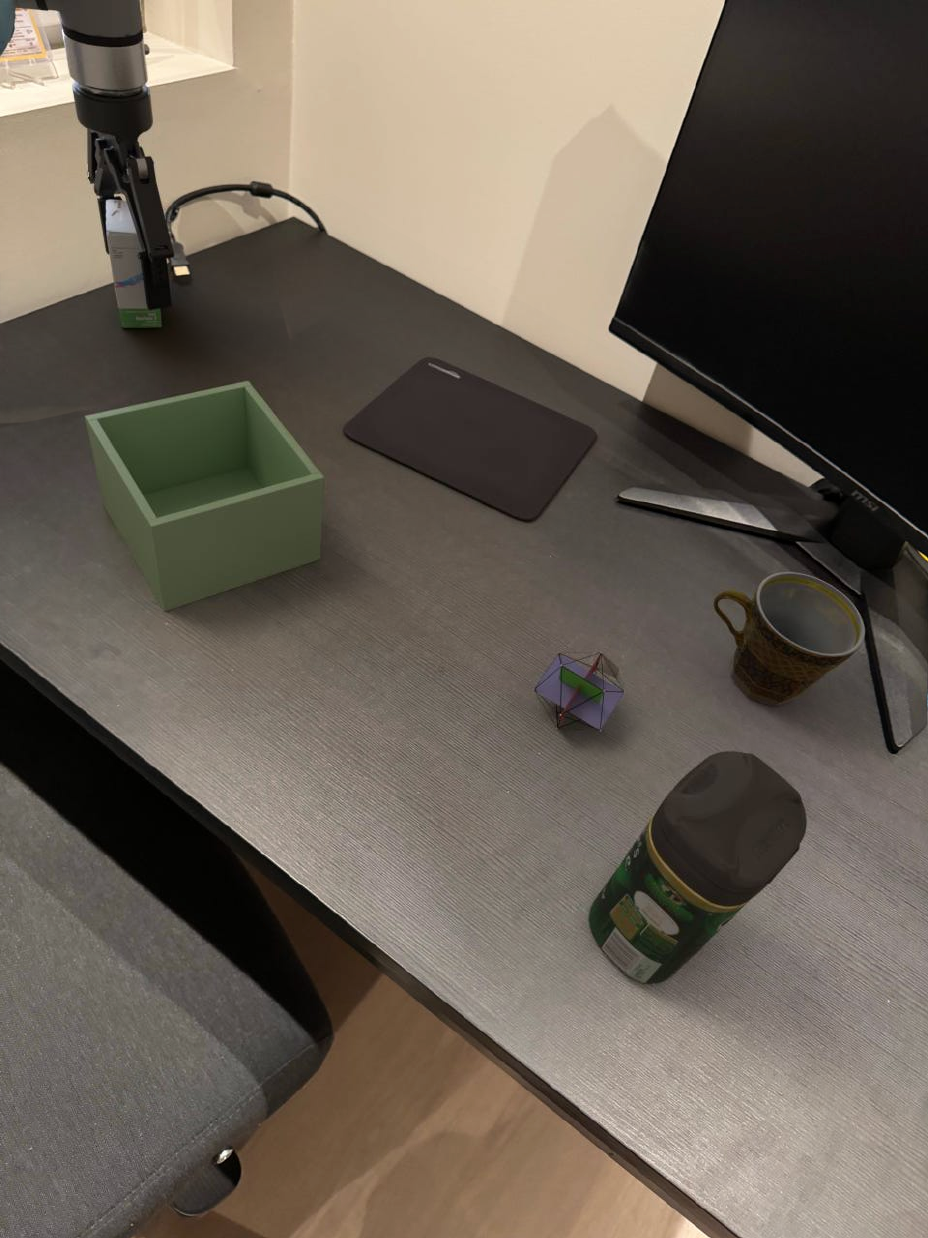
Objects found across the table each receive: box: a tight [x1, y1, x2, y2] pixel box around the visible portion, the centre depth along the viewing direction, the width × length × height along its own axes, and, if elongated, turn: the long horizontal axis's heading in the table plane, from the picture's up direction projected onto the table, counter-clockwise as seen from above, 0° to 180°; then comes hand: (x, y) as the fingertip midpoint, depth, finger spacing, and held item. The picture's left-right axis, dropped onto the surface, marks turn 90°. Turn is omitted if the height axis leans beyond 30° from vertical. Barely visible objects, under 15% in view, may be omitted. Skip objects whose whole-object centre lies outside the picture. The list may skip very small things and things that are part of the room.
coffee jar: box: [588, 750, 808, 985], centre depth 57 cm, size 10×8×19 cm
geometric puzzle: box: [532, 651, 626, 732], centre depth 73 cm, size 7×7×8 cm
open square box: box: [84, 380, 325, 612], centre depth 79 cm, size 16×16×10 cm
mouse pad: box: [342, 356, 597, 521], centre depth 100 cm, size 25×21×1 cm
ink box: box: [106, 199, 163, 329], centre depth 101 cm, size 8×5×12 cm, turn 16°
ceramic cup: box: [713, 571, 866, 707], centre depth 79 cm, size 13×10×10 cm
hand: (138, 278), depth 102 cm, fingers open, 13 cm apart
